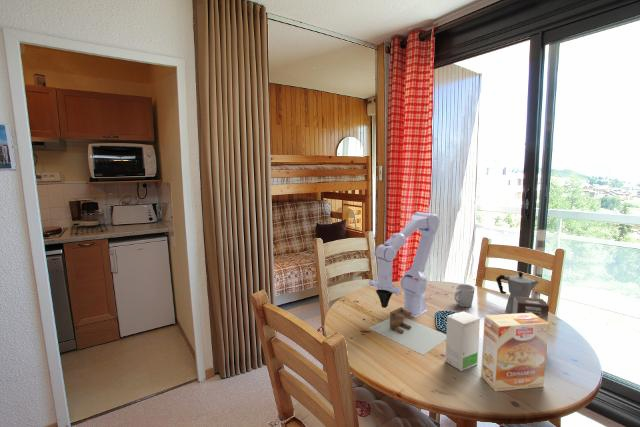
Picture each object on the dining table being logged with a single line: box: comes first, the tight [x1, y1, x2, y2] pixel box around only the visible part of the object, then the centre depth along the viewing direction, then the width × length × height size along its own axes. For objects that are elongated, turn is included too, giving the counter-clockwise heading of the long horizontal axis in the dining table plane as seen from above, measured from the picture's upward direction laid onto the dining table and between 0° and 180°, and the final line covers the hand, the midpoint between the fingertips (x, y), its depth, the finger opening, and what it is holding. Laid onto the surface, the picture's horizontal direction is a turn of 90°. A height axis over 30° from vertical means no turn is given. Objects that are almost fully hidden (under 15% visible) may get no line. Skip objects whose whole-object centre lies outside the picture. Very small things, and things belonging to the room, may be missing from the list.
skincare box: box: [444, 310, 481, 372], centre depth 100 cm, size 8×7×16 cm
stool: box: [389, 307, 412, 334], centre depth 122 cm, size 5×7×7 cm
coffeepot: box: [496, 271, 540, 314], centre depth 134 cm, size 15×9×18 cm, turn 59°
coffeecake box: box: [480, 312, 550, 392], centre depth 90 cm, size 15×7×20 cm, turn 96°
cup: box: [453, 283, 476, 308], centre depth 142 cm, size 8×10×8 cm
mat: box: [368, 316, 446, 356], centre depth 119 cm, size 18×24×1 cm
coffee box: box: [513, 296, 550, 322], centre depth 110 cm, size 9×6×16 cm
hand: (384, 306), depth 127 cm, fingers closed
